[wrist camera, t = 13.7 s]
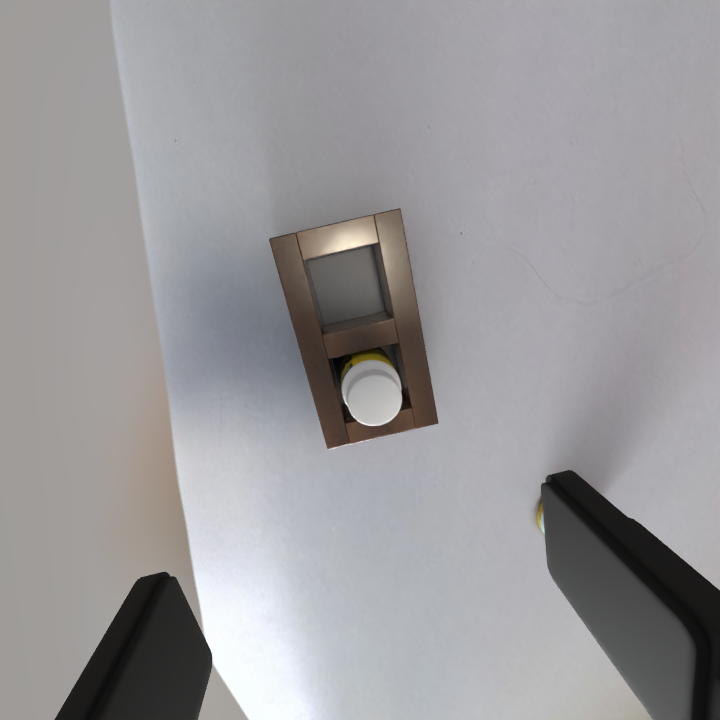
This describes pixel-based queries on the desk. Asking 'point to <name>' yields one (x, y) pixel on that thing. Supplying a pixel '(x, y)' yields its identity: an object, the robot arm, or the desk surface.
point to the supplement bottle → (370, 386)
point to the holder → (357, 323)
